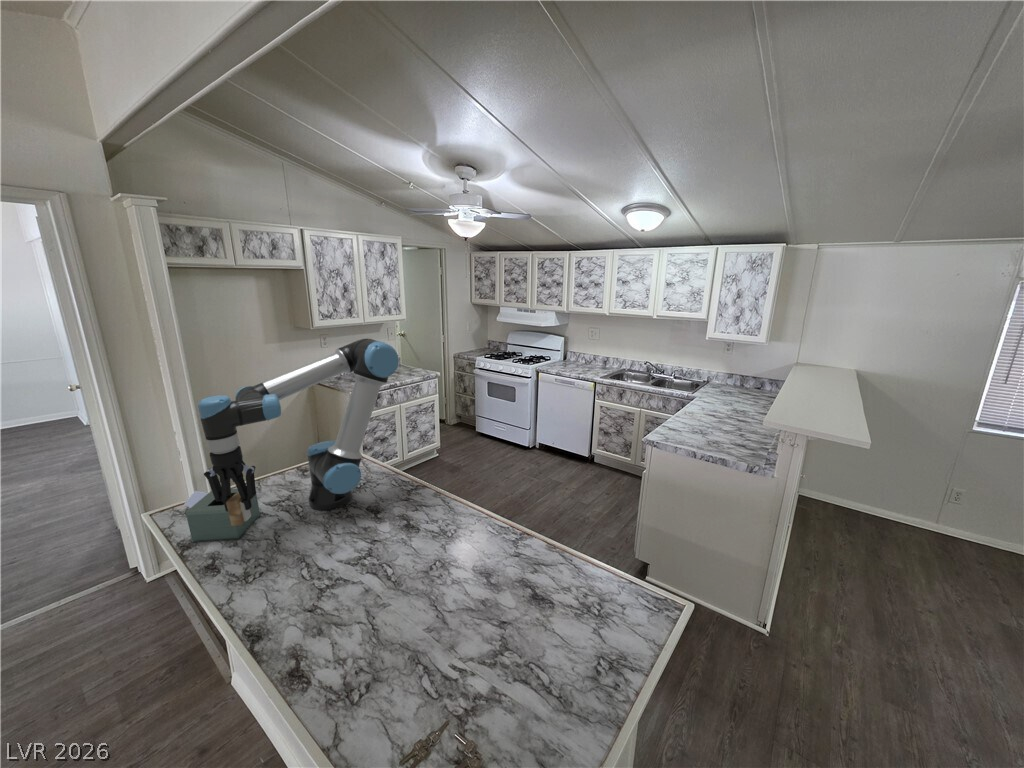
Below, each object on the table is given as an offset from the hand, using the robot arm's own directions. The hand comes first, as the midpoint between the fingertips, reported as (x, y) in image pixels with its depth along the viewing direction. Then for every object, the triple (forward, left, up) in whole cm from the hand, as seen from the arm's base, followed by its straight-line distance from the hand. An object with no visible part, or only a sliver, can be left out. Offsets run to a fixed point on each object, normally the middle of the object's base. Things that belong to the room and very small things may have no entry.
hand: (241, 518), depth 123 cm
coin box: (+12, -13, -11) cm, 21 cm away
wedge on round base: (+25, -25, -11) cm, 37 cm away
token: (0, 0, 0) cm, 0 cm away
